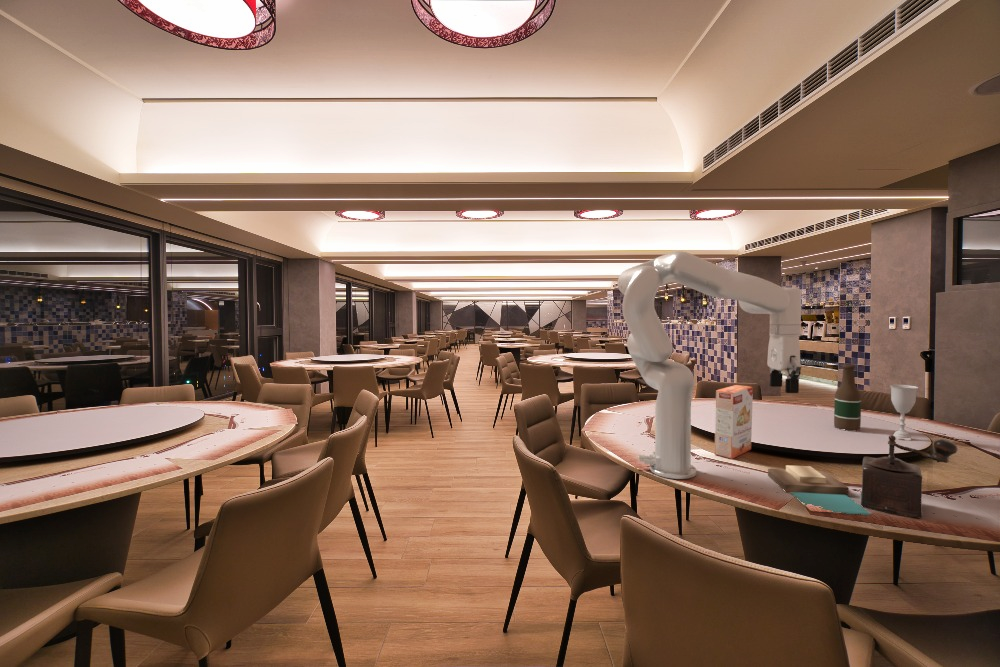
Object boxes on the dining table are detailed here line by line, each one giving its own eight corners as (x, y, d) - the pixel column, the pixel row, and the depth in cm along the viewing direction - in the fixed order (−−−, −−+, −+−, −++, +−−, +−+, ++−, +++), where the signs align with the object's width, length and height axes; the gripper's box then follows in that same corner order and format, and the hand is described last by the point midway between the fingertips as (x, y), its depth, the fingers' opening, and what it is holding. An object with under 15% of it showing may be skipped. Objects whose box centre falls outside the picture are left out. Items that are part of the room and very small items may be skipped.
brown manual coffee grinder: (860, 507, 102) (862, 431, 101) (861, 491, 111) (863, 421, 110) (956, 528, 92) (959, 444, 91) (948, 508, 101) (952, 431, 100)
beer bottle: (858, 427, 166) (860, 363, 164) (862, 432, 159) (864, 366, 158) (832, 424, 170) (834, 362, 168) (835, 429, 163) (836, 365, 162)
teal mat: (810, 511, 101) (810, 510, 101) (790, 493, 111) (790, 491, 111) (870, 515, 99) (870, 513, 99) (845, 496, 109) (845, 494, 108)
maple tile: (799, 482, 113) (799, 476, 112) (785, 470, 120) (785, 465, 120) (826, 483, 111) (826, 477, 111) (810, 471, 119) (810, 466, 119)
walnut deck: (785, 492, 111) (785, 484, 111) (768, 475, 122) (768, 468, 122) (848, 495, 109) (848, 487, 109) (824, 478, 120) (824, 471, 119)
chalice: (892, 440, 150) (894, 387, 149) (884, 434, 156) (885, 384, 155) (920, 442, 147) (922, 388, 146) (910, 436, 153) (912, 385, 152)
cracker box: (733, 460, 135) (734, 392, 133) (713, 455, 139) (714, 389, 138) (753, 449, 143) (753, 386, 142) (733, 445, 148) (734, 383, 147)
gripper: (758, 329, 136) (757, 384, 137) (784, 332, 119) (783, 395, 120) (784, 328, 135) (783, 384, 136) (815, 332, 118) (813, 395, 119)
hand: (783, 389), depth 128 cm, fingers open, 9 cm apart
